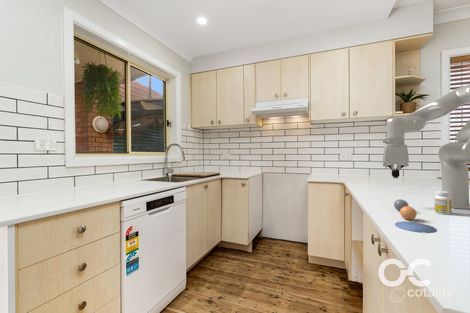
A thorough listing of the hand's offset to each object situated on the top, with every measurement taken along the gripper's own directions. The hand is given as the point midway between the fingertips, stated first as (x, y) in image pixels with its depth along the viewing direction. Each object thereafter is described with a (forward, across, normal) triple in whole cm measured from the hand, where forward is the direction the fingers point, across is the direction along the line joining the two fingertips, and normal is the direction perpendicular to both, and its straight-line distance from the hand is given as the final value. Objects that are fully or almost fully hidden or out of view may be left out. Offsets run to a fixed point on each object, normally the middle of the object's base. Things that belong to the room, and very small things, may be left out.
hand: (395, 177), depth 111 cm
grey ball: (+12, +1, -9) cm, 15 cm away
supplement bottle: (+15, +16, -7) cm, 23 cm away
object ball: (+12, +1, -23) cm, 26 cm away
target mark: (+15, +1, -33) cm, 36 cm away
